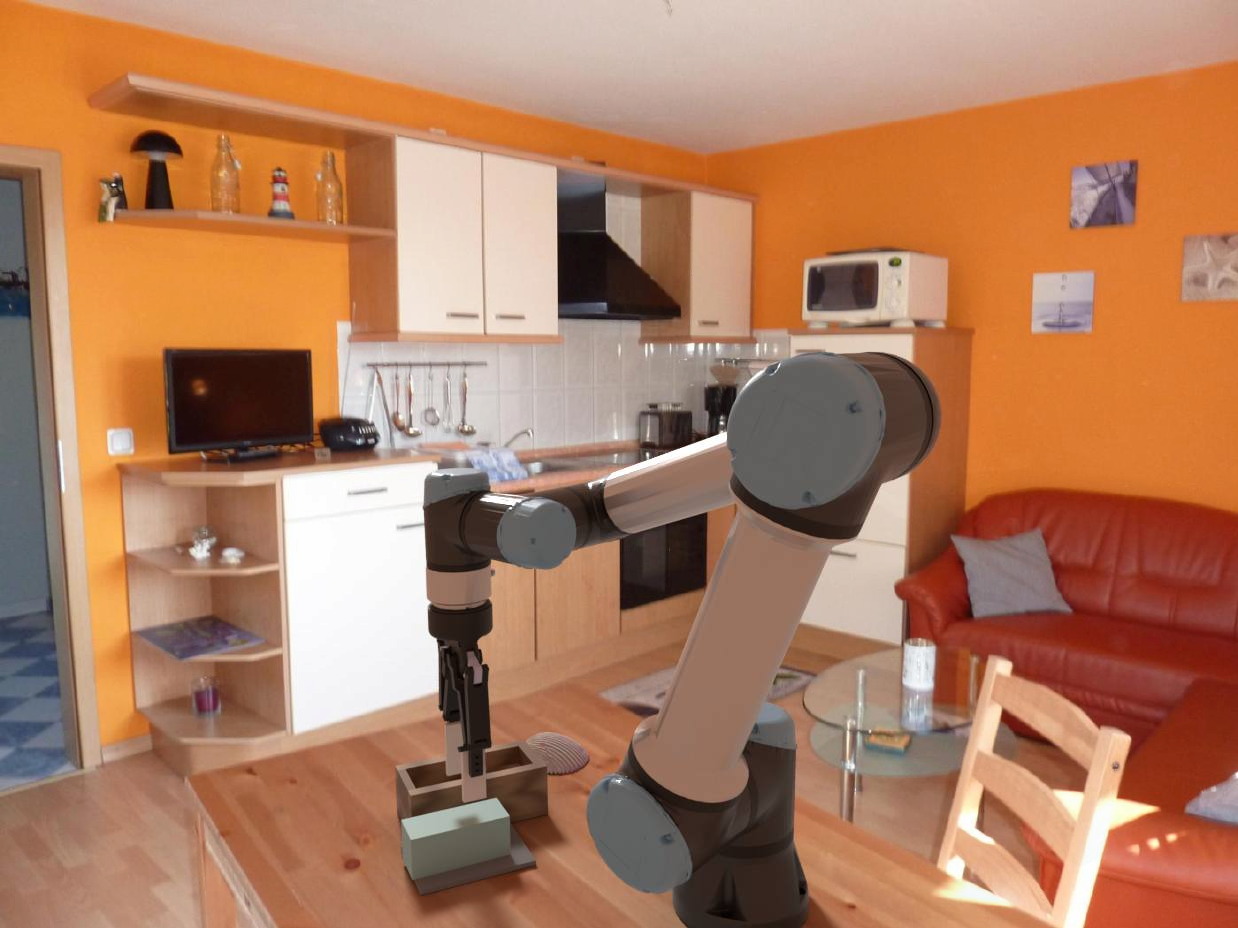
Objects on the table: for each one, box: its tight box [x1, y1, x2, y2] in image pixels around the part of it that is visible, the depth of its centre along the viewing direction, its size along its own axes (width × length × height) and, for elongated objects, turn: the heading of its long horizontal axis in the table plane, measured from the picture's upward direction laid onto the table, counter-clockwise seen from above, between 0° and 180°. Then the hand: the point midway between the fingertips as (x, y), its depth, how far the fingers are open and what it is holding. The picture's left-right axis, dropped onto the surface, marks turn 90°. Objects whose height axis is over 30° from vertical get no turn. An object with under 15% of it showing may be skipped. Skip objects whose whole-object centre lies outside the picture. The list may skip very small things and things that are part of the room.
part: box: [400, 798, 511, 881], centre depth 111 cm, size 12×5×5 cm, turn 116°
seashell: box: [525, 731, 590, 775], centre depth 139 cm, size 10×6×10 cm
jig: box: [394, 739, 549, 824], centre depth 122 cm, size 18×9×7 cm, turn 115°
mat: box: [400, 823, 537, 896], centre depth 112 cm, size 10×14×1 cm
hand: (465, 784), depth 111 cm, fingers open, 7 cm apart
